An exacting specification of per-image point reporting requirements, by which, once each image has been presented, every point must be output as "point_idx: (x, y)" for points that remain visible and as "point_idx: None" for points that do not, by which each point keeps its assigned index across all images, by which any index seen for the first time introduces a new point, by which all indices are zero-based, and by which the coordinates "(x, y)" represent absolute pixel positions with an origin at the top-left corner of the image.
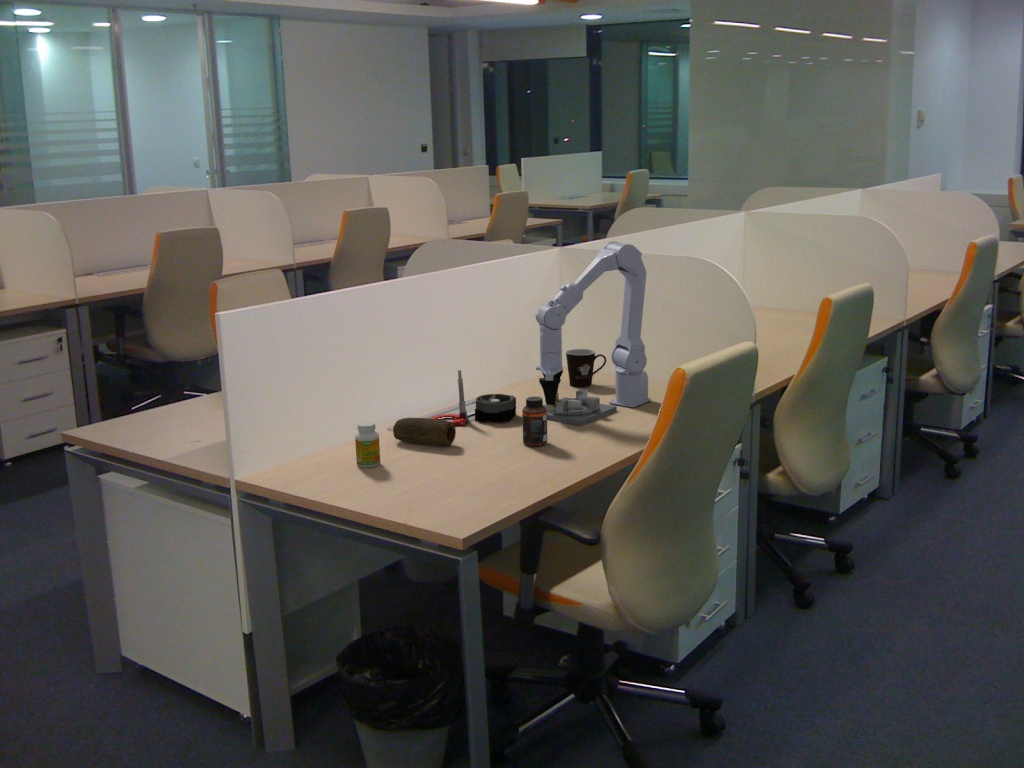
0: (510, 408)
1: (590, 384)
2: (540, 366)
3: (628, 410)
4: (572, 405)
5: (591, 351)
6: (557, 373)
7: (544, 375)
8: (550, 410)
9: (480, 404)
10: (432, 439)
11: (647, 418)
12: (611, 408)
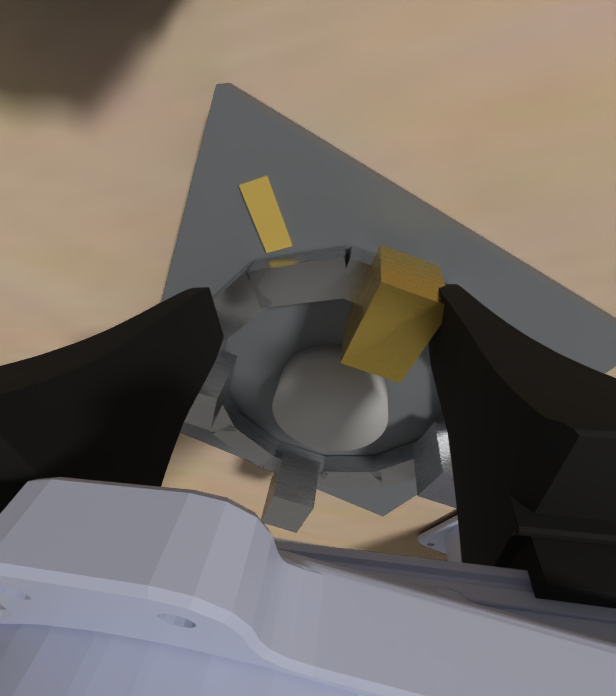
0: None
1: None
2: (45, 674)
3: (388, 521)
4: (274, 412)
5: None
6: (476, 560)
7: (513, 412)
8: (221, 289)
9: None
10: None
11: (296, 540)
12: (349, 502)
